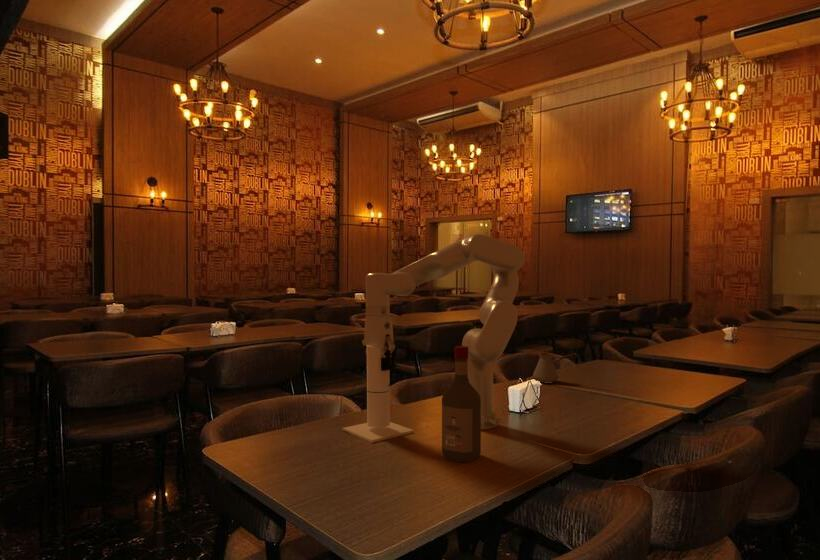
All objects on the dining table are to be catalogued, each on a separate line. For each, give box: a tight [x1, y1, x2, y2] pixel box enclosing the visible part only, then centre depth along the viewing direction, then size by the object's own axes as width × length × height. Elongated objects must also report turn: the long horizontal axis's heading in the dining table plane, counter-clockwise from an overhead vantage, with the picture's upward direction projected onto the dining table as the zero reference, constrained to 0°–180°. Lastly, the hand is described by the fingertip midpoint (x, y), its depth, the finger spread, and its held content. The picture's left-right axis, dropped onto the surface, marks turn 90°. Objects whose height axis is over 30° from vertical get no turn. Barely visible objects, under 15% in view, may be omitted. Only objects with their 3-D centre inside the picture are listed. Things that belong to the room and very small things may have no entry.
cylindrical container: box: [366, 345, 391, 428], centre depth 169 cm, size 7×7×25 cm
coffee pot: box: [532, 352, 579, 384], centre depth 242 cm, size 21×12×15 cm, turn 45°
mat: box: [342, 421, 415, 444], centre depth 169 cm, size 16×16×1 cm
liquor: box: [441, 345, 482, 464], centre depth 146 cm, size 9×9×30 cm
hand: (378, 368), depth 169 cm, fingers closed on cylindrical container, 7 cm apart
